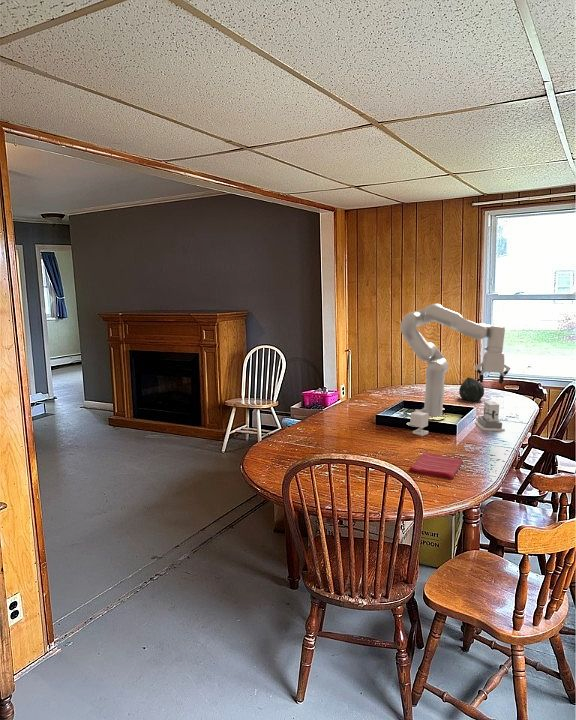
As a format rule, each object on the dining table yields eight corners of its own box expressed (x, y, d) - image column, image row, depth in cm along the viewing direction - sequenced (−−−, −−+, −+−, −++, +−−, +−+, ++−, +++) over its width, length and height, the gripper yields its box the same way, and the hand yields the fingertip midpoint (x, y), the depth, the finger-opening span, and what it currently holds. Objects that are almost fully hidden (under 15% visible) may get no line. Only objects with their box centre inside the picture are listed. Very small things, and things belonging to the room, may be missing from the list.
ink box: (482, 422, 279) (484, 400, 277) (491, 422, 279) (493, 400, 277) (488, 427, 271) (490, 404, 269) (497, 427, 271) (500, 404, 269)
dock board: (482, 430, 269) (483, 422, 268) (474, 422, 282) (475, 415, 281) (504, 430, 268) (505, 423, 268) (495, 423, 281) (496, 416, 281)
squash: (492, 392, 331) (479, 372, 336) (479, 396, 321) (466, 376, 327) (476, 404, 341) (463, 384, 346) (463, 408, 331) (450, 387, 337)
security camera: (416, 430, 265) (417, 410, 264) (428, 433, 260) (430, 413, 259) (409, 432, 261) (410, 412, 259) (421, 436, 256) (423, 415, 254)
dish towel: (407, 473, 209) (407, 466, 208) (422, 455, 230) (422, 449, 229) (452, 482, 201) (452, 475, 201) (463, 463, 222) (463, 457, 221)
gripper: (479, 349, 267) (475, 383, 270) (514, 351, 266) (510, 385, 269) (475, 347, 275) (471, 380, 277) (509, 349, 274) (505, 382, 276)
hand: (490, 382), depth 273 cm, fingers open, 9 cm apart
